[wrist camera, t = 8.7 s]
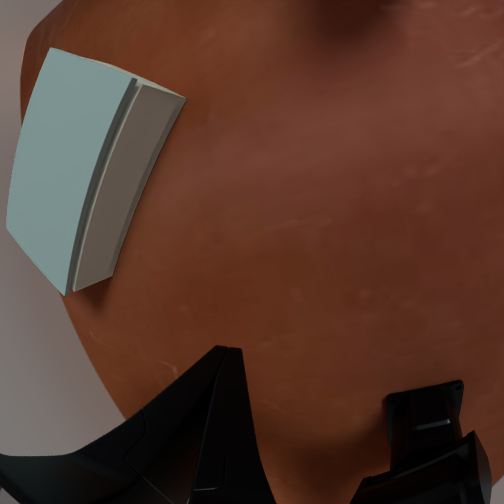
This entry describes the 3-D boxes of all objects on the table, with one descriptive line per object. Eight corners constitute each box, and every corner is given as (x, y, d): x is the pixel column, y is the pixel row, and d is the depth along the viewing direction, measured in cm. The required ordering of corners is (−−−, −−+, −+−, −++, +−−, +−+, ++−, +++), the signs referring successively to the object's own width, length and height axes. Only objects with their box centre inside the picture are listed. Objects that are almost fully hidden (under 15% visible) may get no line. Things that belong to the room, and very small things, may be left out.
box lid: (138, 79, 14) (132, 77, 14) (69, 293, 22) (64, 296, 21) (55, 48, 15) (50, 47, 14) (10, 225, 22) (6, 227, 22)
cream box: (186, 98, 19) (142, 84, 15) (112, 275, 26) (74, 292, 22) (111, 64, 21) (72, 54, 16) (59, 216, 28) (25, 223, 24)
